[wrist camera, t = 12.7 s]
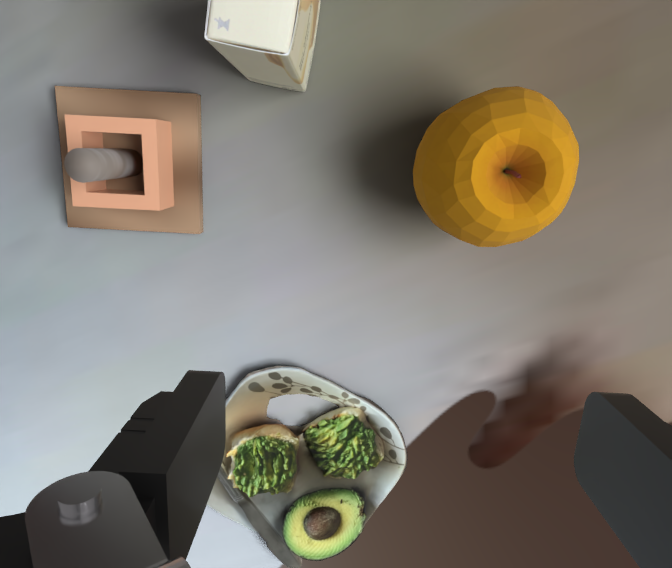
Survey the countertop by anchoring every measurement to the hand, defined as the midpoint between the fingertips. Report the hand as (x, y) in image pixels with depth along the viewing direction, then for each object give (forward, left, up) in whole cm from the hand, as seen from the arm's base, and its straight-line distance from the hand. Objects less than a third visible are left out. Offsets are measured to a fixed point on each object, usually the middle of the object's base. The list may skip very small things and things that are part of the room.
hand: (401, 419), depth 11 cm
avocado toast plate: (+21, -4, -29) cm, 36 cm away
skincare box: (-13, -6, -28) cm, 32 cm away
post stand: (-4, -17, -28) cm, 33 cm away
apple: (-5, +8, -28) cm, 30 cm away
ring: (-4, -17, -27) cm, 32 cm away
